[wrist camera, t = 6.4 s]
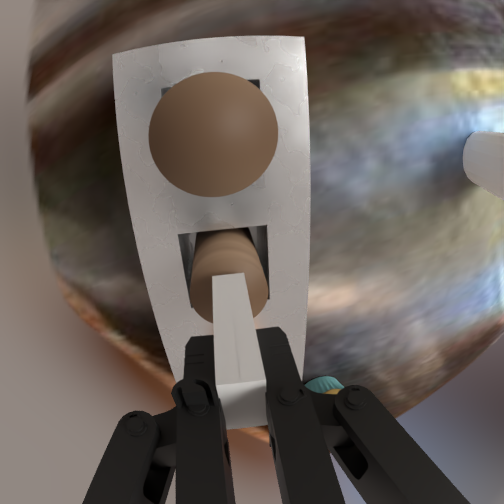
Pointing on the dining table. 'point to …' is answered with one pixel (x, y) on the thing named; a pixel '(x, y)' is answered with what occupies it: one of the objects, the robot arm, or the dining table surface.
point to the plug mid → (226, 268)
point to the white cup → (485, 161)
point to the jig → (225, 207)
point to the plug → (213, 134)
